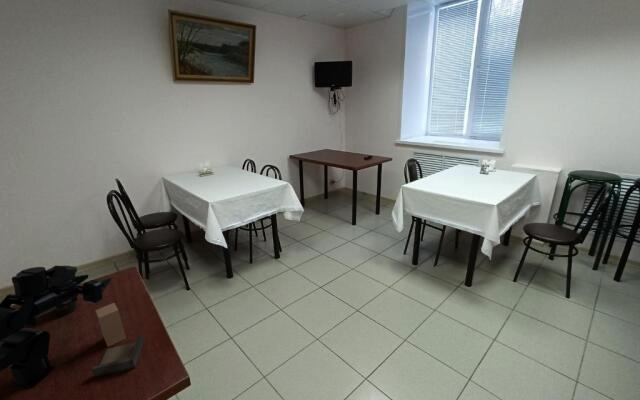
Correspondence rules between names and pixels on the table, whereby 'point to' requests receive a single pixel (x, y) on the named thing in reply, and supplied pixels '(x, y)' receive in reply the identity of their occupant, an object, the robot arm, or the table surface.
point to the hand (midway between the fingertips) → (99, 277)
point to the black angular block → (65, 309)
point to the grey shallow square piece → (119, 358)
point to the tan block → (111, 324)
